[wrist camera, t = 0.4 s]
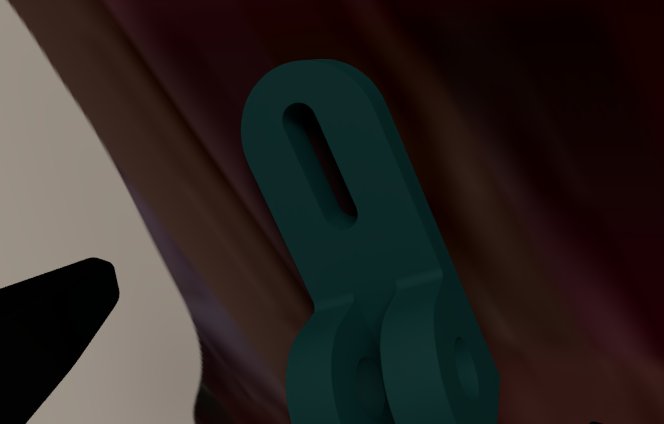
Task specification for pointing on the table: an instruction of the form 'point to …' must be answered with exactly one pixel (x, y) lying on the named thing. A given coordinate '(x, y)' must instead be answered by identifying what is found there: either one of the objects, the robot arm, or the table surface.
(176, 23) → the table surface
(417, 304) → the bracket
